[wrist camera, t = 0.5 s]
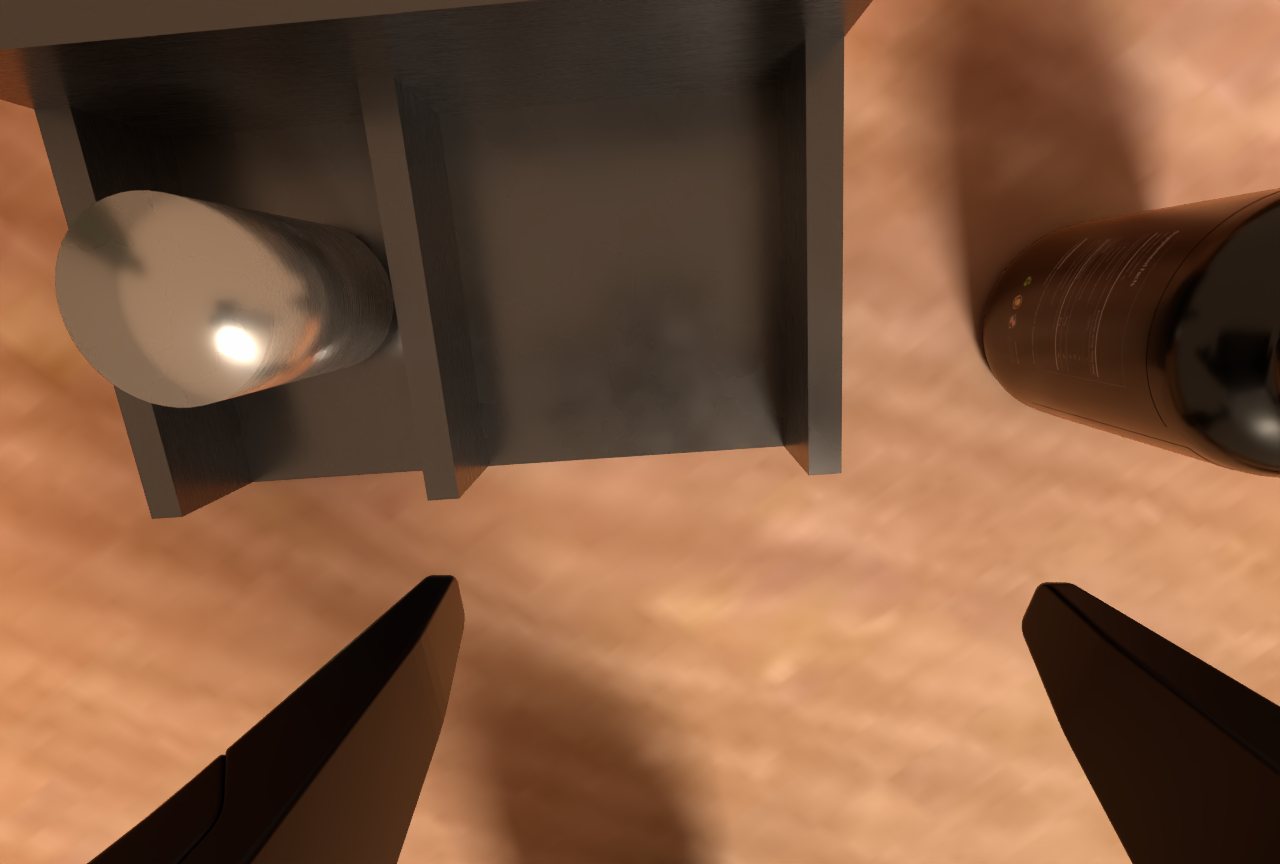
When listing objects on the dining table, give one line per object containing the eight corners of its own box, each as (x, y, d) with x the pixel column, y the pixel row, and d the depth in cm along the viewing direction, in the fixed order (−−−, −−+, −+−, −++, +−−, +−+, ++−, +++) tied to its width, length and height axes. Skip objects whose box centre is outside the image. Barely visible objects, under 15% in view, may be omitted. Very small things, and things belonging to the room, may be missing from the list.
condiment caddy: (804, 437, 23) (885, 515, 15) (244, 475, 23) (43, 569, 16) (800, 59, 20) (900, -91, 12) (157, 115, 20) (-147, 9, 13)
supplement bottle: (1197, 242, 21) (1893, 183, 9) (1122, 426, 22) (1633, 577, 11) (1009, 202, 21) (1480, 91, 9) (948, 391, 22) (1277, 506, 11)
